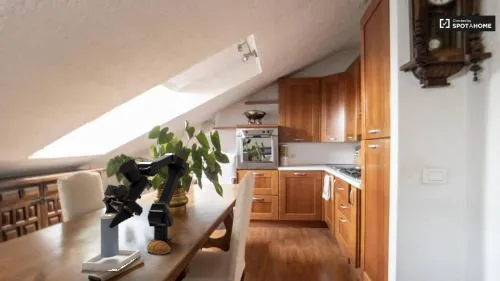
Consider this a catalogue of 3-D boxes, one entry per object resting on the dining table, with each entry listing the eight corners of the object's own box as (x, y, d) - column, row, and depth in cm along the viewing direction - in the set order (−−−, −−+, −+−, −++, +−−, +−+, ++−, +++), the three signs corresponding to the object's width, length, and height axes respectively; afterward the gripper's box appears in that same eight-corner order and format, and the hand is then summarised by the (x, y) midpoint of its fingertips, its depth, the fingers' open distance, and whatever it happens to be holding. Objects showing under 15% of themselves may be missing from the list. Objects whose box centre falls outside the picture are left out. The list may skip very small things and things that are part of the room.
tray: (108, 255, 107) (108, 248, 107) (140, 256, 104) (140, 250, 104) (82, 269, 94) (82, 262, 94) (117, 272, 91) (117, 264, 91)
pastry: (175, 251, 110) (174, 241, 110) (160, 257, 104) (160, 246, 104) (159, 247, 115) (159, 237, 115) (144, 252, 110) (144, 242, 110)
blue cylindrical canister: (108, 251, 103) (108, 212, 103) (123, 252, 102) (122, 212, 102) (96, 257, 97) (95, 216, 98) (111, 258, 96) (111, 217, 96)
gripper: (107, 174, 109) (75, 209, 100) (134, 177, 98) (101, 216, 89) (127, 192, 115) (99, 226, 106) (154, 196, 104) (126, 235, 95)
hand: (105, 226), depth 99 cm, fingers closed on blue cylindrical canister, 6 cm apart
